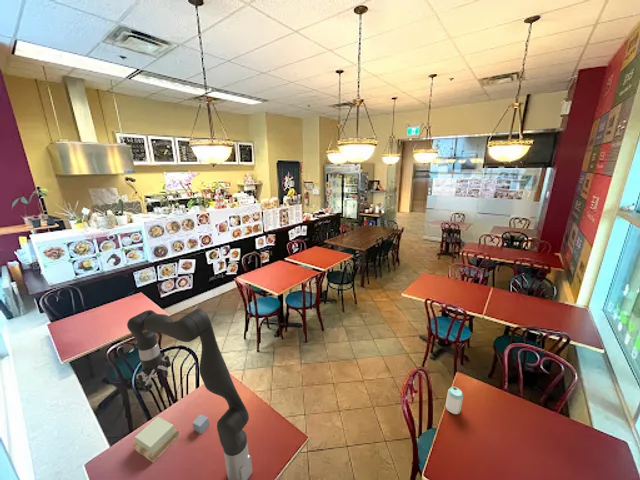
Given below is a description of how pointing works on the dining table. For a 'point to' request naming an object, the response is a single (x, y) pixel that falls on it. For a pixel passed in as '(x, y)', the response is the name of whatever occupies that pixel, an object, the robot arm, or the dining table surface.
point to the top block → (154, 434)
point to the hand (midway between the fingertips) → (156, 383)
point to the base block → (160, 450)
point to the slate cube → (200, 423)
